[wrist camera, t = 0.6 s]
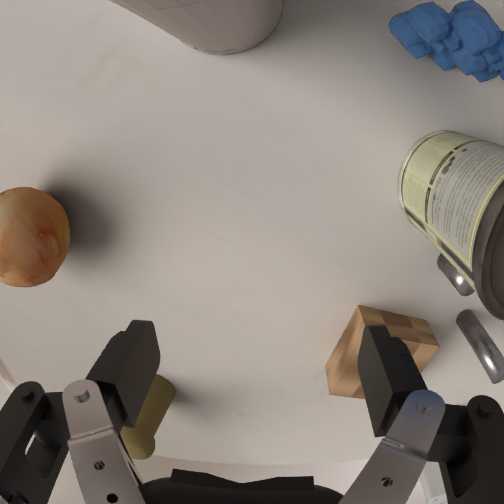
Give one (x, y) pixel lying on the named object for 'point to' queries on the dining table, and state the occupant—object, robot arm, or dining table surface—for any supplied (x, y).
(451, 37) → the grapes
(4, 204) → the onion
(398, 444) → the robot arm
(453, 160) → the coffee can
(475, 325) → the long pin
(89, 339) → the dining table surface
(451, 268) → the short pin
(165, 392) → the cork
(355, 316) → the collar block
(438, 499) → the skincare box
